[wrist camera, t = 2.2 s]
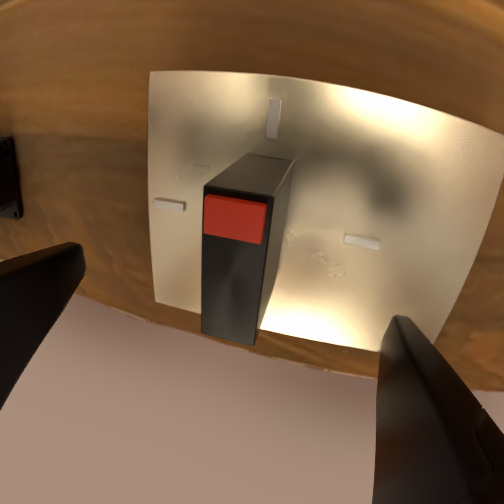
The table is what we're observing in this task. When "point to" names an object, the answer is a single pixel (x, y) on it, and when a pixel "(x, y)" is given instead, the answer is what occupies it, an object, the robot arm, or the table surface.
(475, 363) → the table surface
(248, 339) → the stove knob
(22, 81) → the table surface
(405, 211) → the panel
